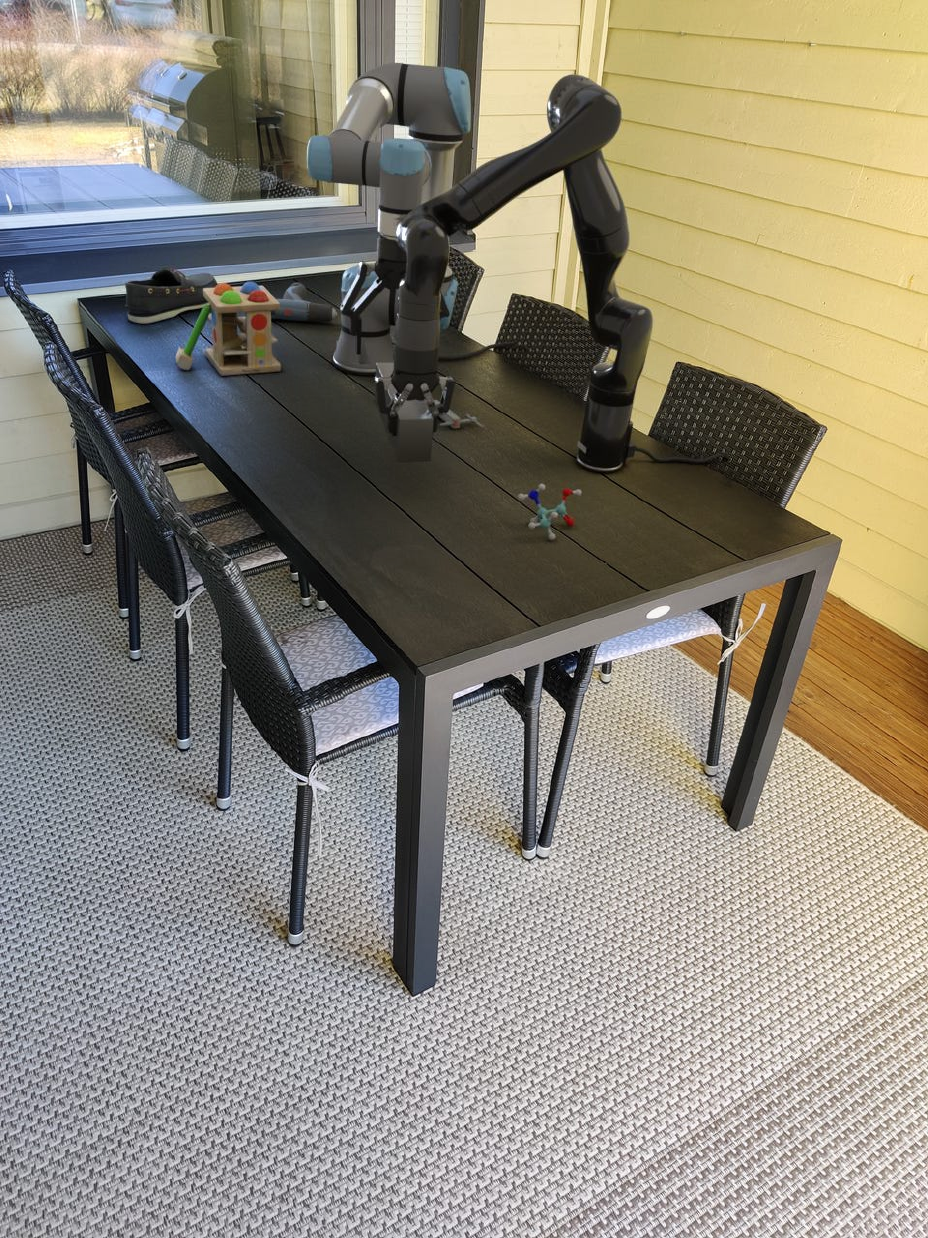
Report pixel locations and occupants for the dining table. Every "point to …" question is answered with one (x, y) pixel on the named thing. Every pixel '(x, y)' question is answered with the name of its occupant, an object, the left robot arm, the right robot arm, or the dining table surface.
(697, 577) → the dining table surface
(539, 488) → the molecular model
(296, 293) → the power drill
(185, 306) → the boat shoe
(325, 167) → the left robot arm
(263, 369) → the pounding bench toy
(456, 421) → the clamp
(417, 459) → the bar
